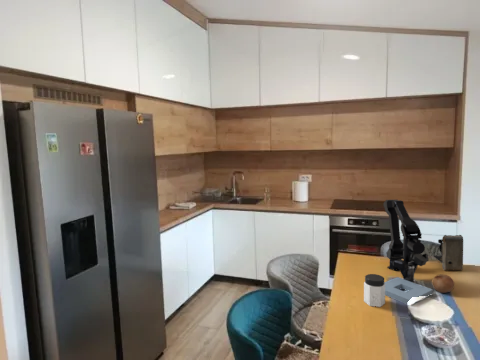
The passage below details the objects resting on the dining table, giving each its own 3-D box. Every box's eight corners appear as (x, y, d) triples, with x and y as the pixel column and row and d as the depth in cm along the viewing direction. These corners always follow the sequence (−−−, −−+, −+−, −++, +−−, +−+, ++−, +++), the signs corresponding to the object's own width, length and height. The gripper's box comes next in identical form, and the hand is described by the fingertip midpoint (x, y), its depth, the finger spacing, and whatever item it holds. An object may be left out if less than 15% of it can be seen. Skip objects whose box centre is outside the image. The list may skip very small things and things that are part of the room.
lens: (406, 278, 177) (407, 262, 176) (415, 281, 173) (416, 264, 172) (401, 280, 175) (401, 264, 174) (410, 284, 171) (410, 267, 170)
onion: (436, 298, 161) (428, 282, 159) (436, 286, 168) (428, 270, 167) (458, 296, 156) (450, 279, 154) (456, 283, 163) (449, 267, 161)
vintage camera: (449, 262, 198) (449, 228, 197) (463, 271, 183) (463, 235, 181) (431, 262, 199) (431, 229, 198) (444, 271, 184) (444, 236, 182)
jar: (364, 305, 151) (364, 280, 150) (363, 297, 159) (363, 273, 157) (385, 308, 148) (386, 282, 147) (384, 299, 156) (384, 274, 155)
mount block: (397, 281, 174) (397, 277, 174) (432, 294, 159) (432, 289, 159) (375, 291, 165) (375, 286, 164) (410, 305, 149) (410, 300, 149)
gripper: (414, 255, 160) (413, 286, 162) (435, 247, 170) (434, 277, 172) (392, 249, 170) (392, 279, 172) (414, 242, 179) (413, 270, 181)
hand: (408, 276), depth 174 cm, fingers open, 7 cm apart
